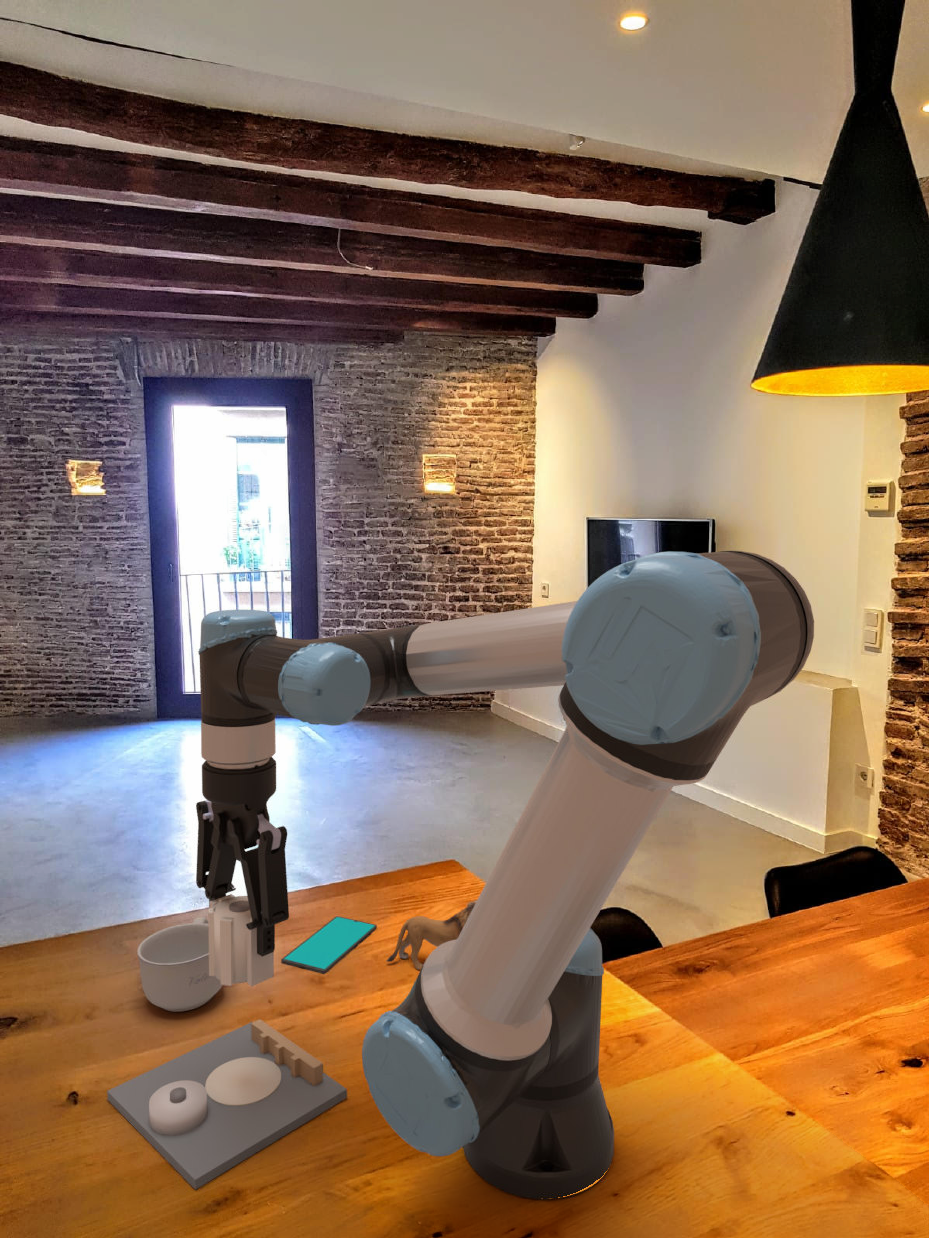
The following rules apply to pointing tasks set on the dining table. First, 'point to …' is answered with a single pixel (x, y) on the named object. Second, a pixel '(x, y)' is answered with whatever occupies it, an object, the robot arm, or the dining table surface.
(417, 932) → the lion figurine
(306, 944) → the smartphone
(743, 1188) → the dining table surface
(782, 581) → the robot arm
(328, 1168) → the dining table surface
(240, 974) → the planet gear
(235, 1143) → the carrier plate
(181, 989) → the teacup
